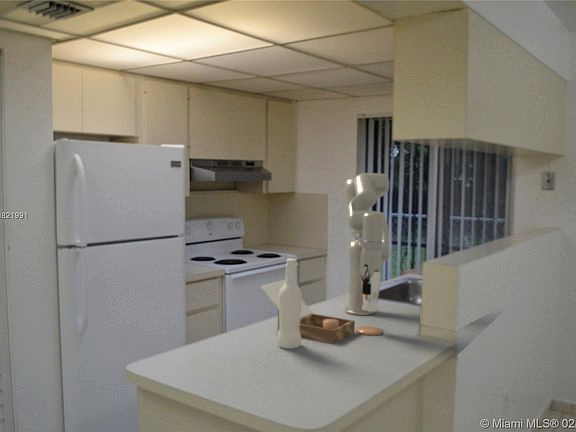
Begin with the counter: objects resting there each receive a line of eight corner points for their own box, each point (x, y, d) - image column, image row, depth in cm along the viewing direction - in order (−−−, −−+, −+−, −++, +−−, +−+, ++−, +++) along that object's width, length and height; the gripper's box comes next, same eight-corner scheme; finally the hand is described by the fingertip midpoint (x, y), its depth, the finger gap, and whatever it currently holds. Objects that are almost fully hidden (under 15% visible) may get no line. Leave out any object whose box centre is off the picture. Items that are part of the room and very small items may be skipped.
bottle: (272, 346, 185) (275, 259, 183) (284, 341, 193) (286, 256, 191) (294, 351, 182) (296, 261, 180) (304, 344, 189) (307, 258, 187)
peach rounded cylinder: (327, 334, 203) (327, 318, 202) (340, 336, 200) (341, 320, 199) (320, 337, 198) (320, 321, 198) (333, 340, 195) (334, 323, 195)
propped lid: (282, 319, 222) (283, 279, 221) (313, 324, 215) (314, 283, 214) (258, 328, 208) (259, 285, 207) (290, 334, 201) (291, 290, 199)
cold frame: (312, 324, 215) (312, 313, 215) (354, 332, 205) (354, 320, 205) (289, 334, 201) (289, 322, 200) (333, 343, 191) (333, 330, 191)
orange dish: (362, 326, 214) (362, 324, 214) (386, 331, 209) (386, 329, 209) (351, 332, 206) (351, 330, 205) (376, 337, 200) (376, 335, 200)
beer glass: (380, 312, 203) (382, 272, 202) (361, 311, 203) (363, 271, 202) (377, 308, 210) (379, 269, 209) (359, 307, 210) (361, 268, 209)
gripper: (372, 242, 214) (370, 288, 215) (353, 246, 199) (351, 295, 201) (390, 244, 210) (388, 290, 211) (372, 248, 195) (370, 297, 197)
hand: (370, 292), depth 206 cm, fingers closed on beer glass, 6 cm apart
